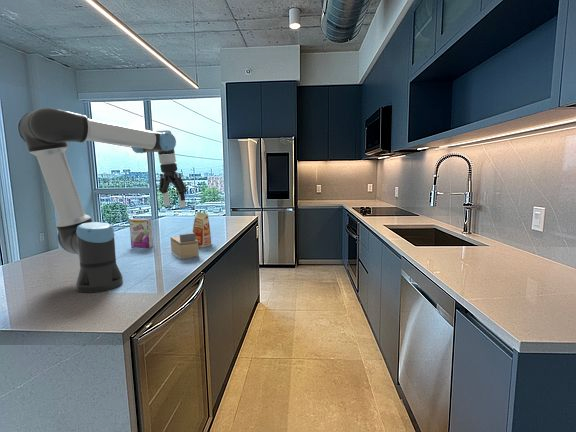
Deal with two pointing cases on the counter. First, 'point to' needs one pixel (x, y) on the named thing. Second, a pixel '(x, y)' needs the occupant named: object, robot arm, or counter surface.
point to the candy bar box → (141, 233)
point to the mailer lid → (185, 238)
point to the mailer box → (184, 250)
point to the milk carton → (202, 229)
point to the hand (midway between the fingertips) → (175, 206)
